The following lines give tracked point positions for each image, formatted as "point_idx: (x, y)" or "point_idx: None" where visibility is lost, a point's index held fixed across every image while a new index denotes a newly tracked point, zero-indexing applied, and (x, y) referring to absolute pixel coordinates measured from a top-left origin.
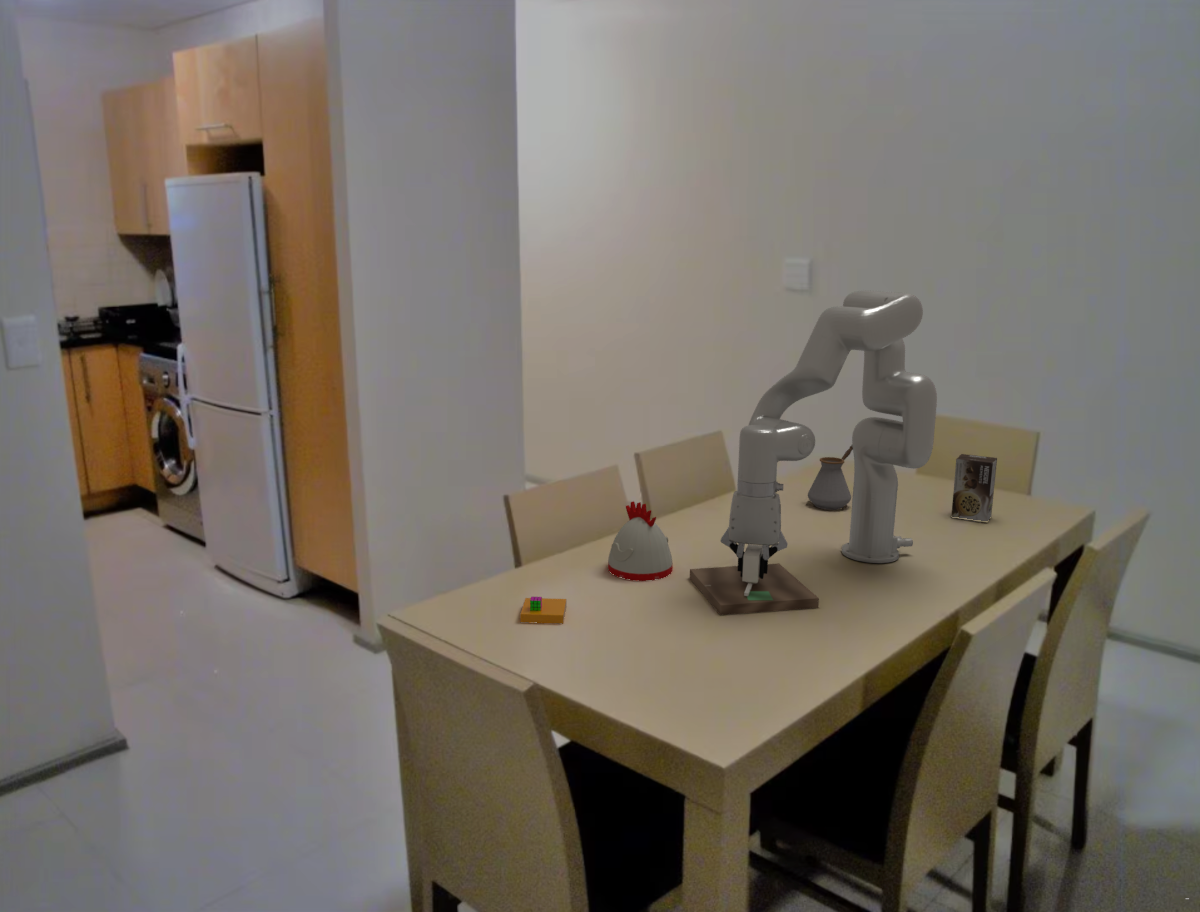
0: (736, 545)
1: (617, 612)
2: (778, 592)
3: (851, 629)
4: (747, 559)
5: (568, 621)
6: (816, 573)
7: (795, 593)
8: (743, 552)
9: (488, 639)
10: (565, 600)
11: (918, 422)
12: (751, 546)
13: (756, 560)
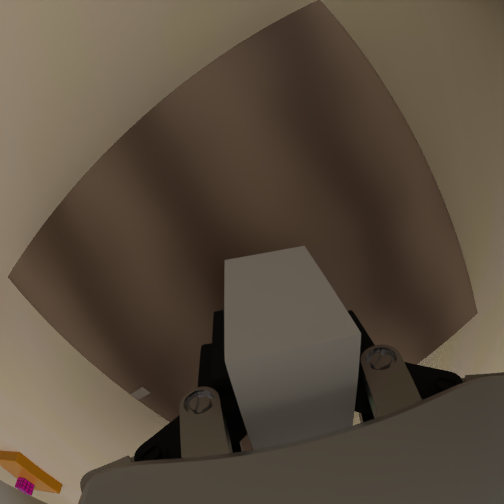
0: (179, 456)
1: (74, 462)
2: (379, 340)
3: (488, 356)
4: None
5: (60, 480)
6: (428, 2)
7: (428, 318)
8: (235, 429)
9: (53, 500)
10: (20, 465)
11: None
12: (270, 393)
13: None
